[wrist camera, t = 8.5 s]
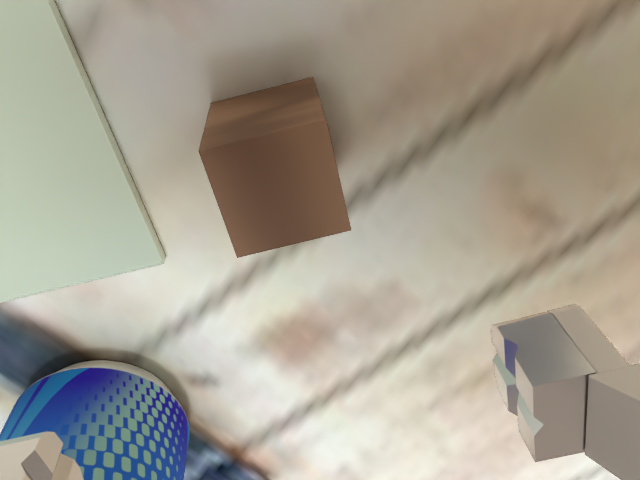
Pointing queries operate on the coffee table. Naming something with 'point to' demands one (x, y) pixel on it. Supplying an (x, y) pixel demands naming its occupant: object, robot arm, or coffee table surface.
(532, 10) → the coffee table surface
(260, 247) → the walnut block
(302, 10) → the coffee table surface
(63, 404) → the beer can
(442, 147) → the coffee table surface
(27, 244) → the sage tile
